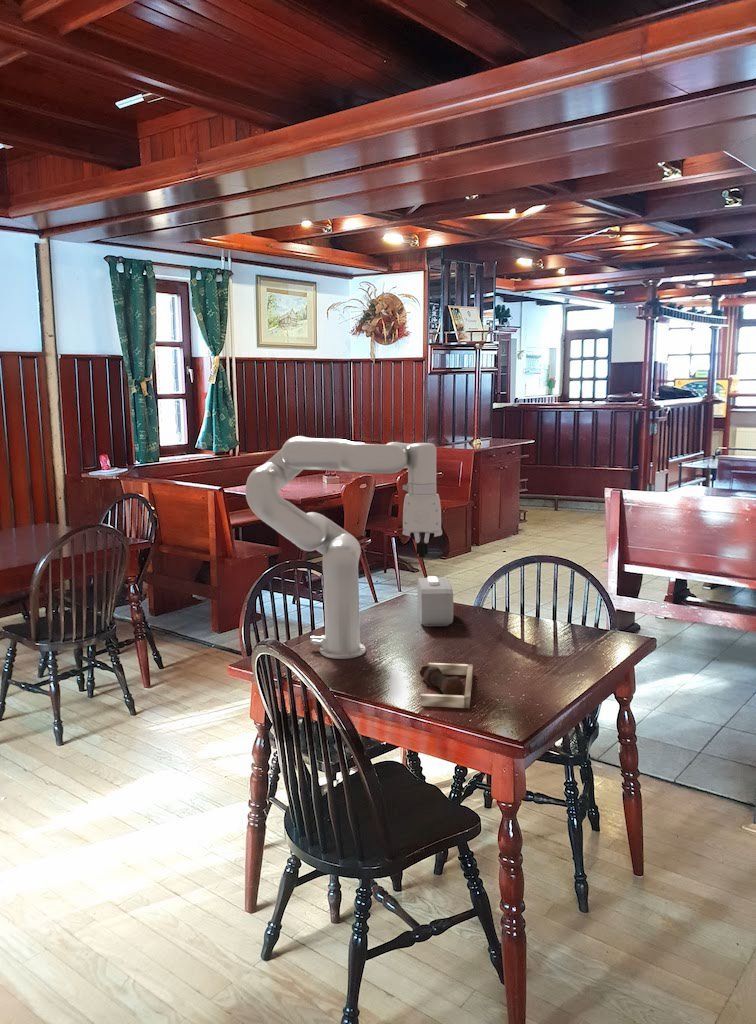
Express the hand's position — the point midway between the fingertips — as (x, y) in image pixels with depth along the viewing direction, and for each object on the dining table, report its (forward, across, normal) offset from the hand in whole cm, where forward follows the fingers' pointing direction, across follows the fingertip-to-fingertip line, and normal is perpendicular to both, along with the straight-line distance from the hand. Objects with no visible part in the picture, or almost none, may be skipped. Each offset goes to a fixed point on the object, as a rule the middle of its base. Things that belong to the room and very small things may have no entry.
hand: (422, 556), depth 221 cm
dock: (+27, +8, -26) cm, 38 cm away
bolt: (+28, +6, -25) cm, 38 cm away
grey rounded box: (+27, +1, +31) cm, 41 cm away
